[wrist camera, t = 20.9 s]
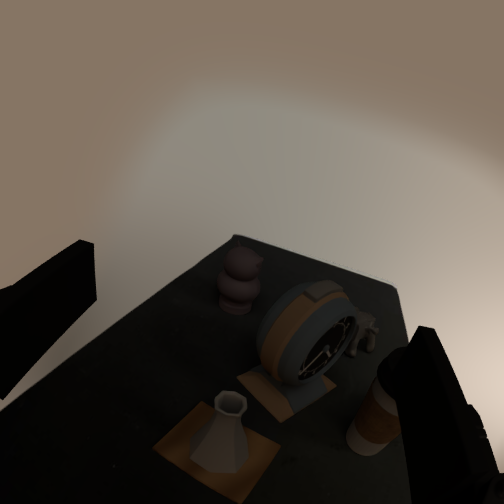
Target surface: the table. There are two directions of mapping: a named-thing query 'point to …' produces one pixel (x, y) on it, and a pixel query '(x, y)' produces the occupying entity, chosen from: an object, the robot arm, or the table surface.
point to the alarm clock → (300, 347)
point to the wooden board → (226, 484)
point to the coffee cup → (377, 412)
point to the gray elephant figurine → (362, 333)
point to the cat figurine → (239, 280)
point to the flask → (222, 436)
